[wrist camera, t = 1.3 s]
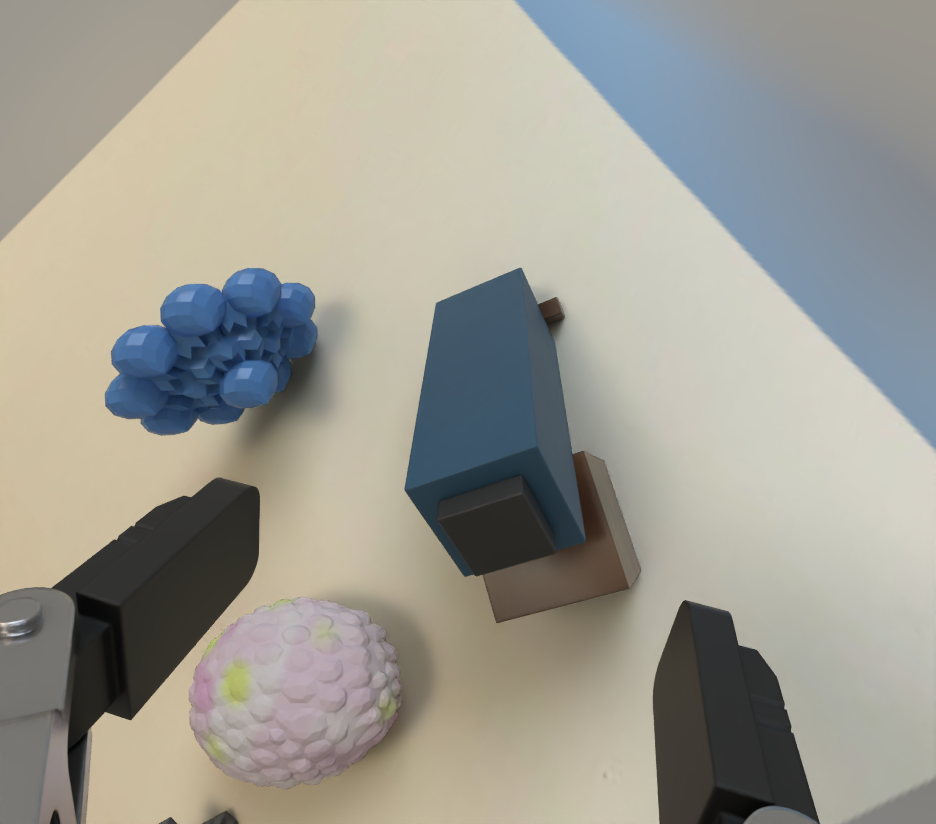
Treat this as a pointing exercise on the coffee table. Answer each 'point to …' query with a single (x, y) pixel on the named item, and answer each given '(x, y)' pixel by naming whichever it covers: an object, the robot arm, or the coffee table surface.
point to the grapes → (212, 352)
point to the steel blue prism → (494, 432)
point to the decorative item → (294, 693)
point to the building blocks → (225, 820)
